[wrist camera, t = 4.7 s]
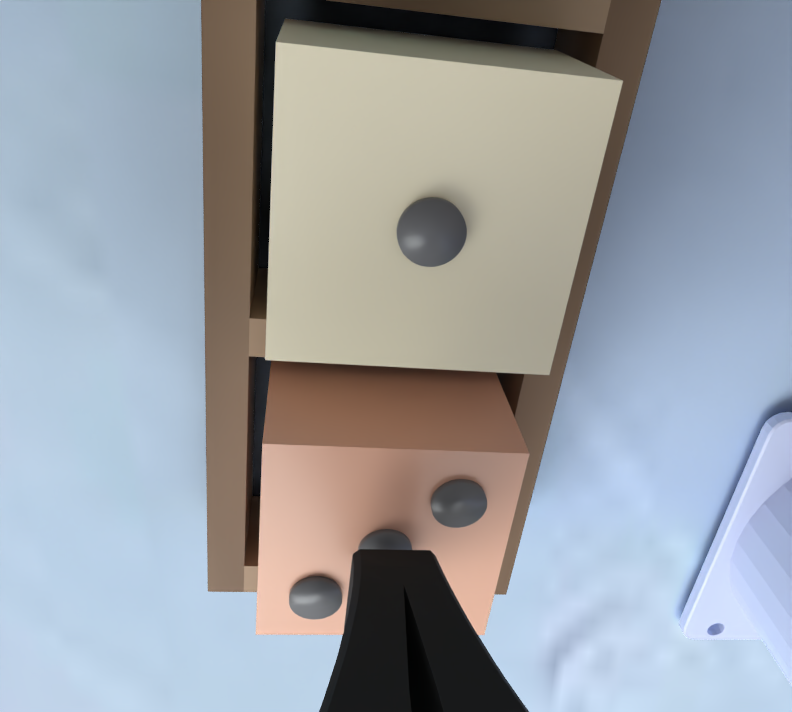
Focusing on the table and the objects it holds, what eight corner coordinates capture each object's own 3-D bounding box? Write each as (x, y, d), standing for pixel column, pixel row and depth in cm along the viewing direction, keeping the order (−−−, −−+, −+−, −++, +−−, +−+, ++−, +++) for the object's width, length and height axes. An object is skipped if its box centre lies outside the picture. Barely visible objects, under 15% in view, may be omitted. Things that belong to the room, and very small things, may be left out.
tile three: (491, 362, 16) (532, 459, 13) (457, 526, 18) (485, 641, 15) (272, 350, 15) (261, 449, 12) (265, 522, 17) (255, 640, 14)
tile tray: (723, -511, 10) (824, -624, 8) (485, 525, 20) (506, 594, 18) (219, -628, 9) (192, -788, 7) (220, 519, 19) (207, 591, 17)
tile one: (555, 49, 13) (627, 83, 10) (505, 294, 15) (551, 380, 12) (285, 18, 12) (275, 42, 9) (275, 278, 14) (264, 364, 11)
